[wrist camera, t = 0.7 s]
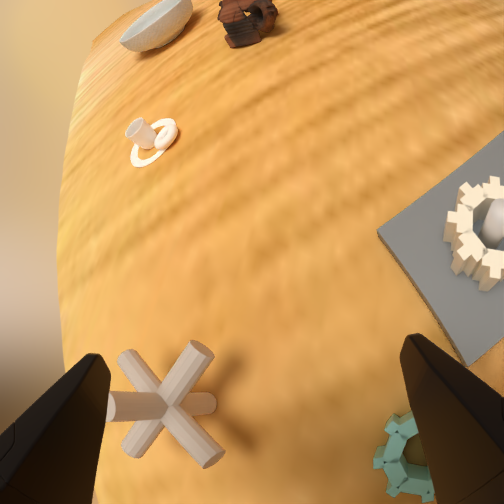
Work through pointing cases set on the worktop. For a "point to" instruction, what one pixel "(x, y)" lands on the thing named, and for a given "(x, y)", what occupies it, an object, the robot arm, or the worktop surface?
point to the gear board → (440, 257)
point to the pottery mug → (246, 20)
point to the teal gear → (402, 461)
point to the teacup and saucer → (150, 138)
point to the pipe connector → (166, 404)
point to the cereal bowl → (157, 25)
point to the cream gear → (466, 241)
